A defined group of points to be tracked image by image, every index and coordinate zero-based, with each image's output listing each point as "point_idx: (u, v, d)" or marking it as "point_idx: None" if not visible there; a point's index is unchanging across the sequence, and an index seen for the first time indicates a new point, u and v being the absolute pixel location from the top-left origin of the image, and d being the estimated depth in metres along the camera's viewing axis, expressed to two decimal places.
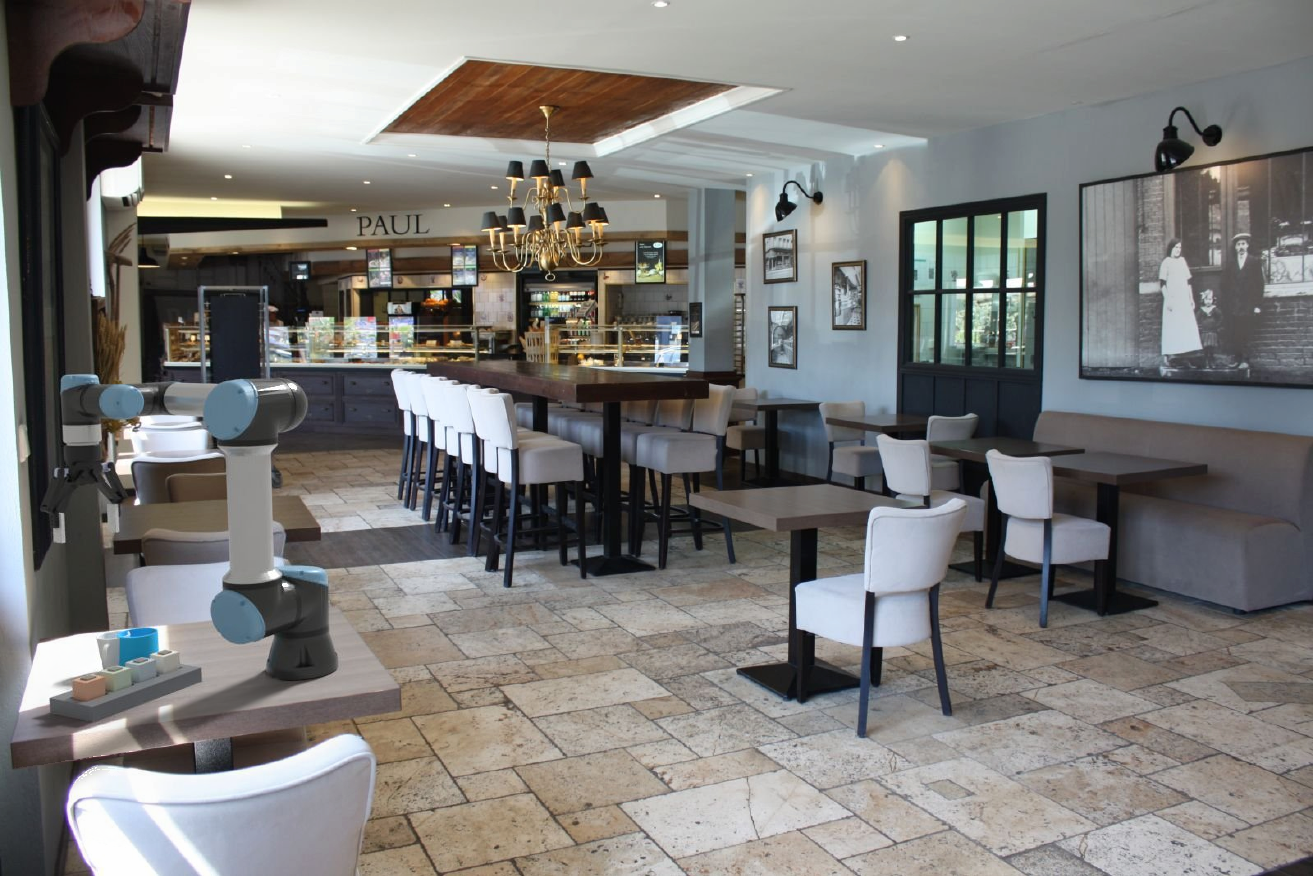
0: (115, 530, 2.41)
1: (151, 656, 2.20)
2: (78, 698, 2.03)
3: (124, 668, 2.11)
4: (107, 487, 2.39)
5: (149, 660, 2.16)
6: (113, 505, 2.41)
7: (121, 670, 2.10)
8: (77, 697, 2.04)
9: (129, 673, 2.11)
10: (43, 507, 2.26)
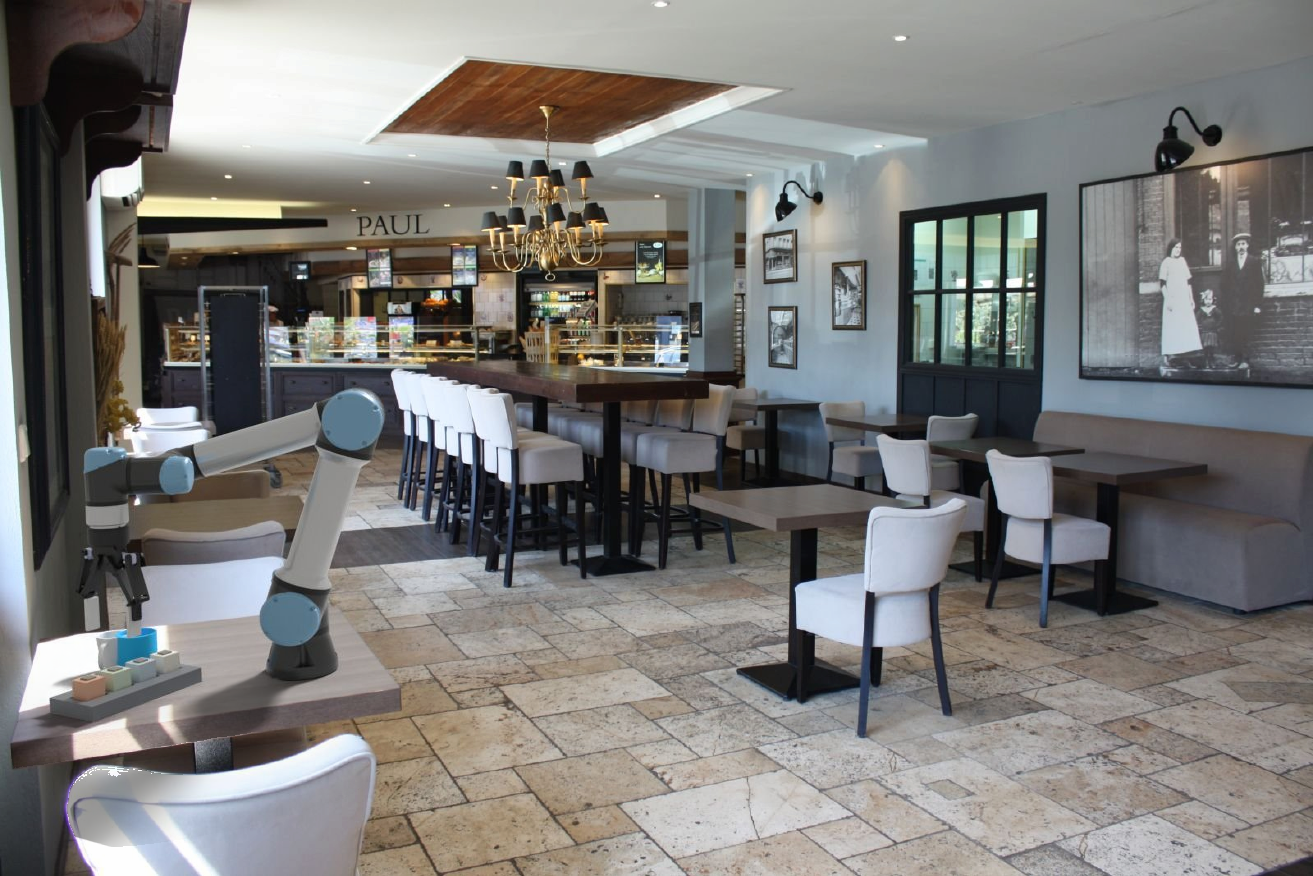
0: None
1: (151, 656, 2.20)
2: (78, 698, 2.03)
3: (124, 668, 2.11)
4: (120, 582, 2.06)
5: (149, 660, 2.16)
6: None
7: (121, 670, 2.10)
8: (77, 697, 2.04)
9: (129, 673, 2.11)
10: None
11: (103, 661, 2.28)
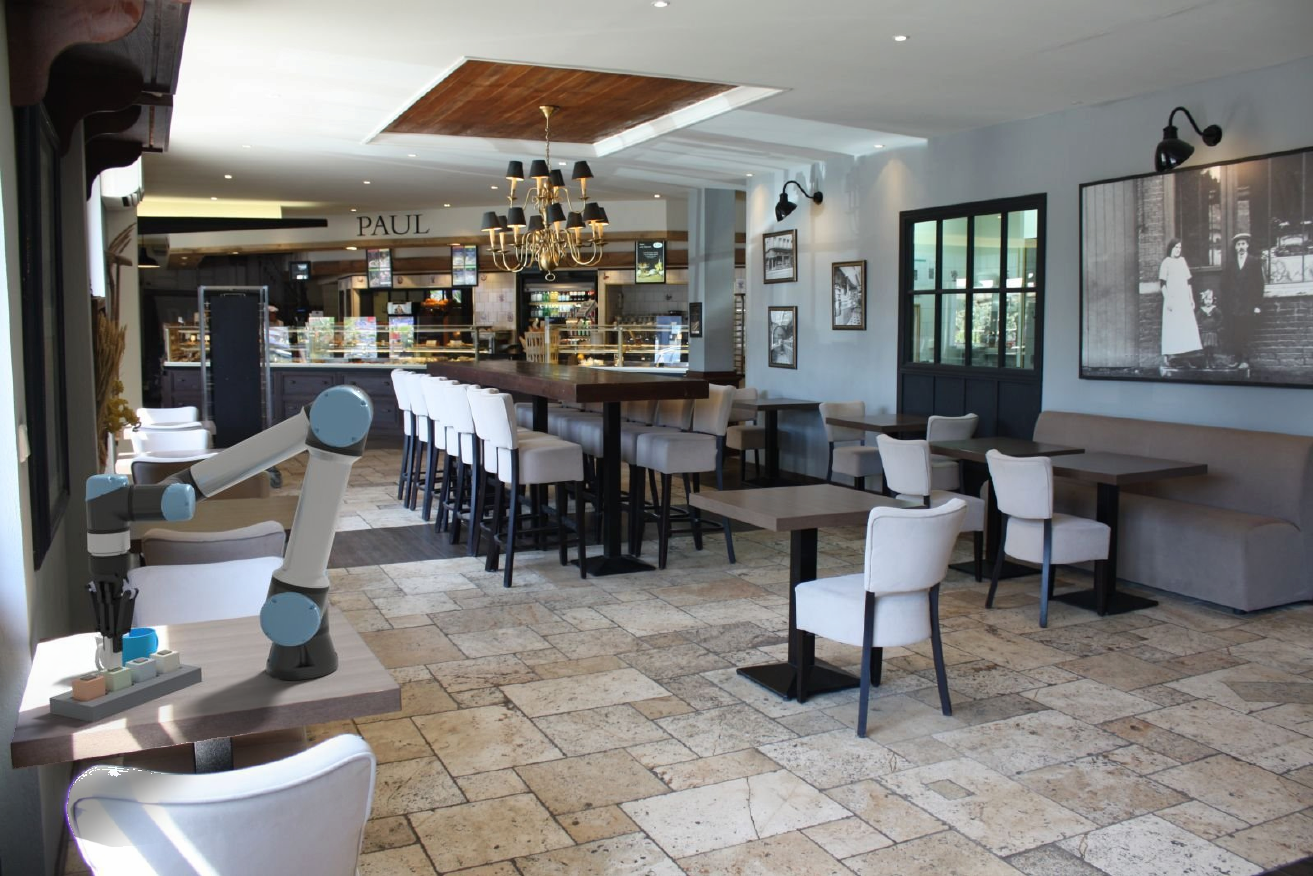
0: None
1: (151, 656, 2.20)
2: (78, 698, 2.03)
3: (124, 668, 2.11)
4: (111, 612, 2.07)
5: (149, 660, 2.16)
6: None
7: (121, 670, 2.10)
8: (77, 697, 2.04)
9: (129, 673, 2.11)
10: None
11: (102, 660, 2.28)
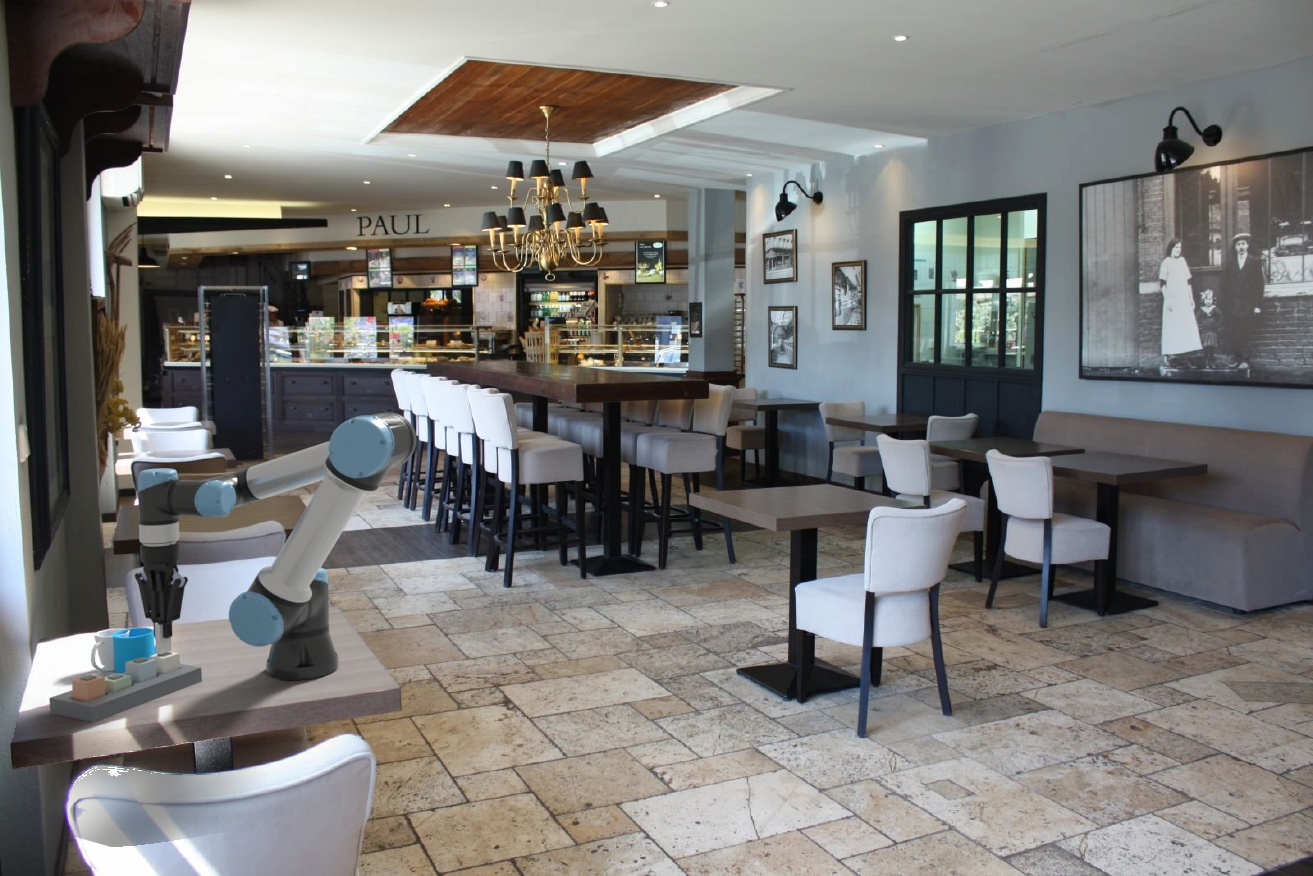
0: None
1: (151, 658, 2.20)
2: (78, 698, 2.03)
3: (124, 676, 2.11)
4: (161, 599, 2.18)
5: (149, 660, 2.16)
6: None
7: (121, 678, 2.10)
8: (77, 697, 2.04)
9: (129, 681, 2.11)
10: None
11: (101, 659, 2.29)
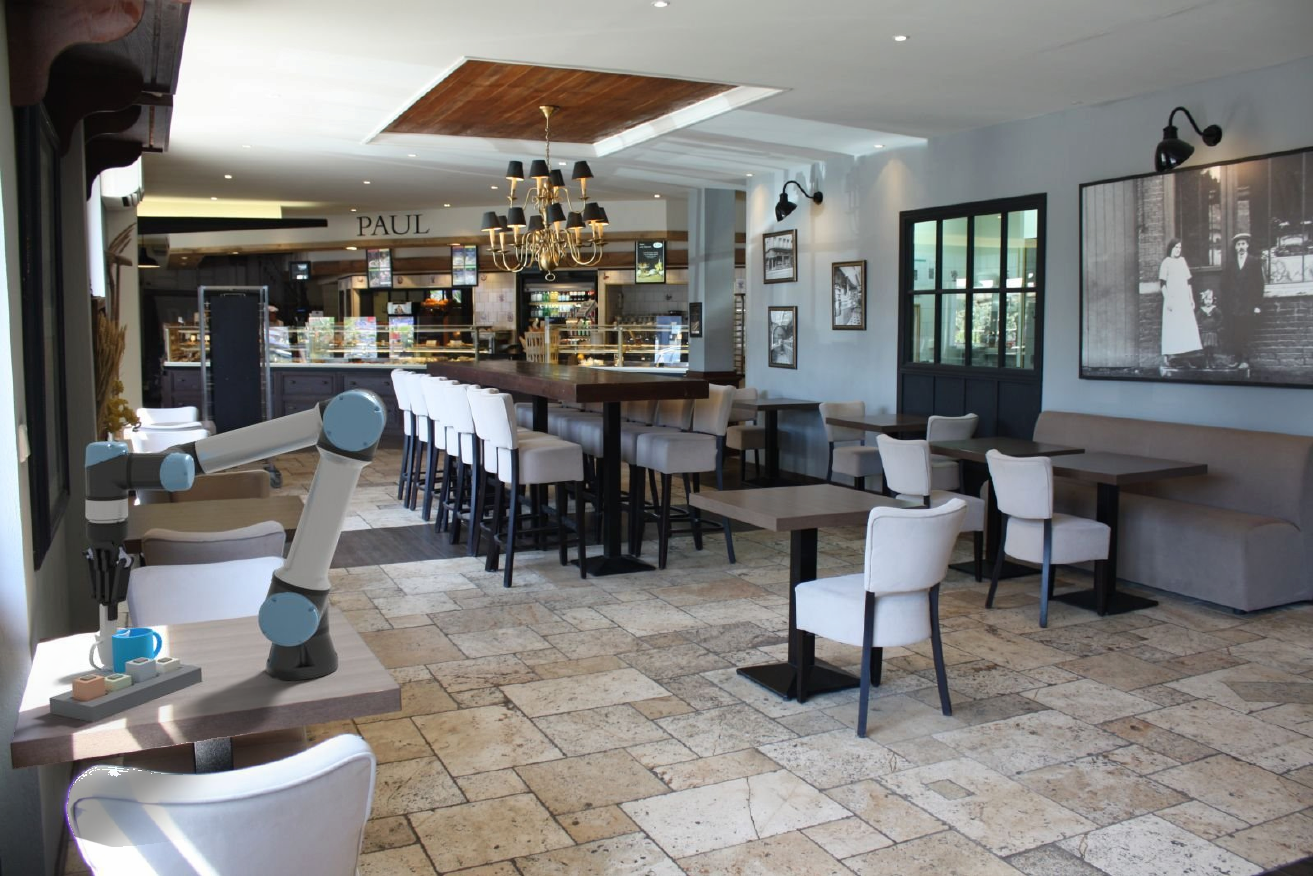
0: None
1: None
2: (78, 698, 2.03)
3: (124, 676, 2.11)
4: (106, 579, 2.07)
5: (149, 660, 2.16)
6: None
7: (121, 678, 2.10)
8: (77, 697, 2.04)
9: (129, 681, 2.11)
10: None
11: (101, 658, 2.30)
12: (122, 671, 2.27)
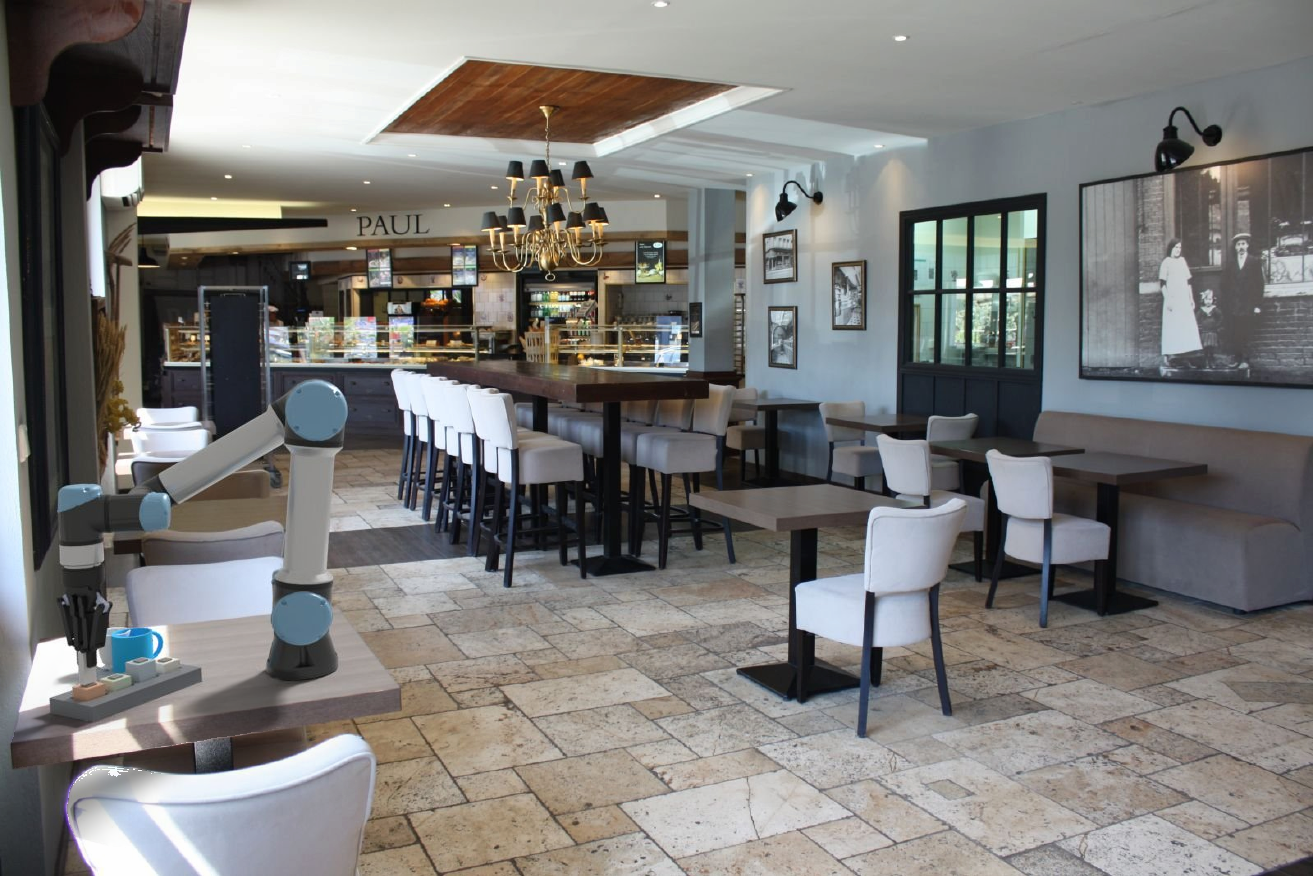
0: None
1: None
2: None
3: (124, 676, 2.11)
4: (84, 626, 2.02)
5: (149, 660, 2.16)
6: None
7: (121, 678, 2.10)
8: None
9: (129, 681, 2.11)
10: None
11: (101, 657, 2.30)
12: (120, 671, 2.27)
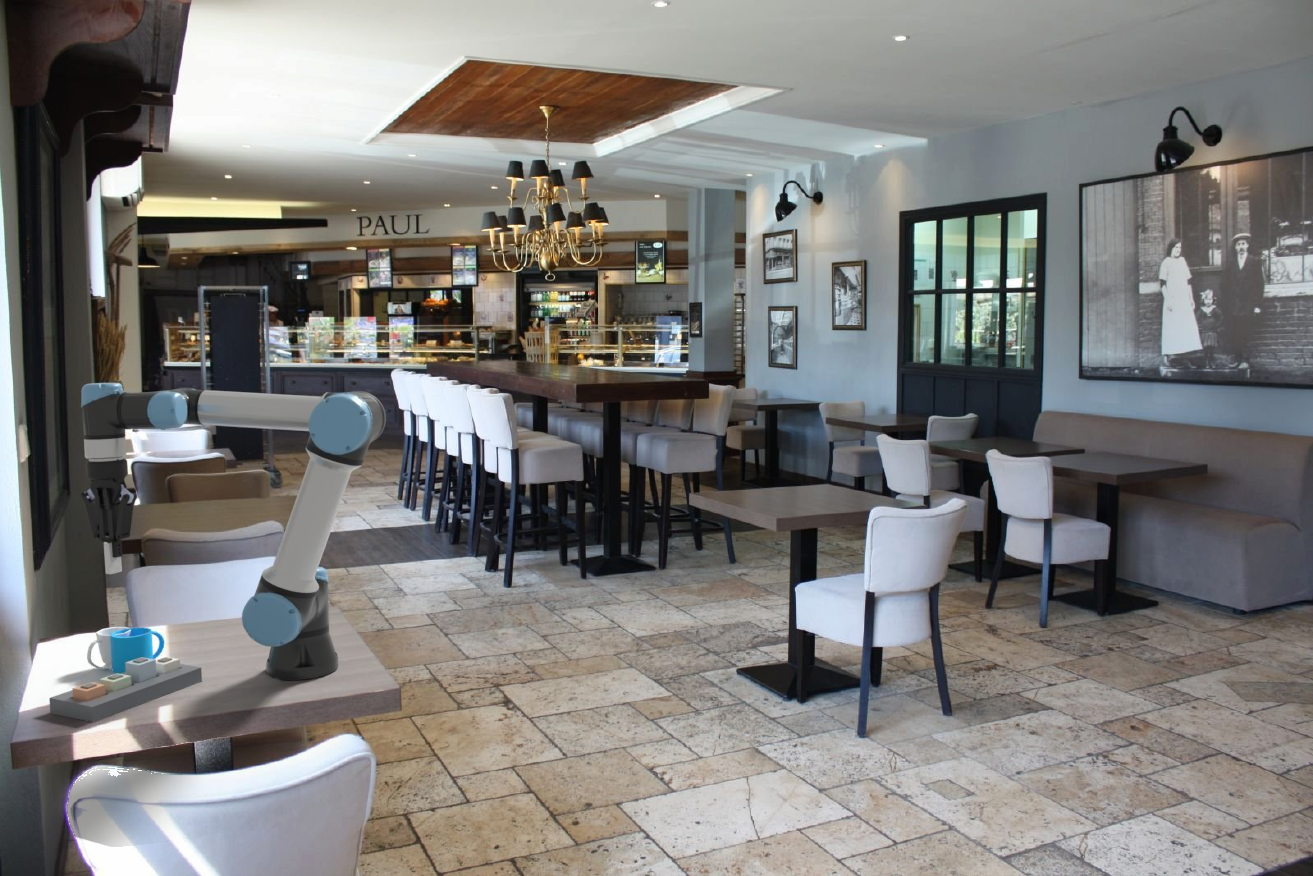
0: None
1: None
2: None
3: (124, 676, 2.11)
4: (109, 517, 2.12)
5: (149, 660, 2.16)
6: None
7: (121, 678, 2.10)
8: None
9: (129, 681, 2.11)
10: None
11: (102, 656, 2.31)
12: (118, 671, 2.27)
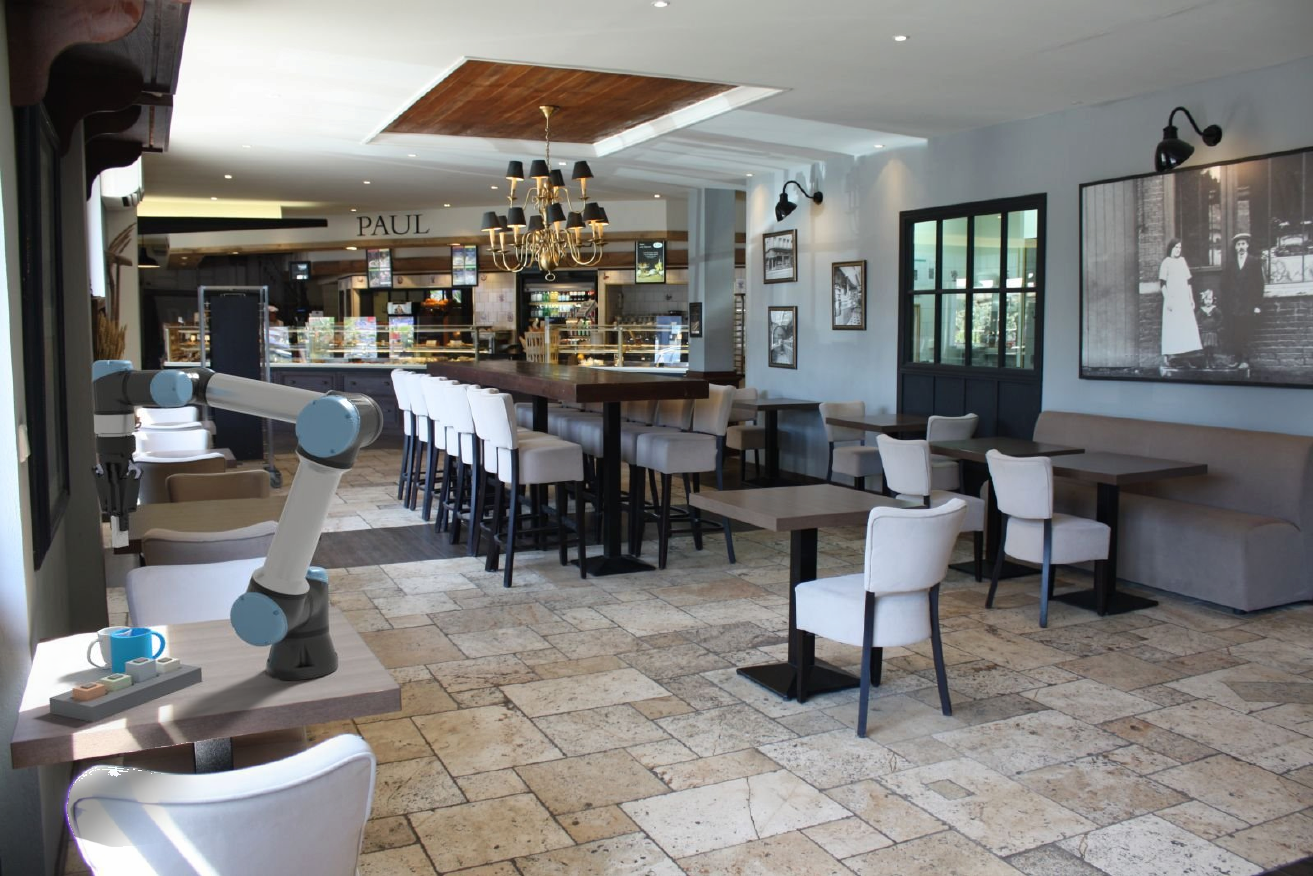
0: None
1: None
2: None
3: (124, 676, 2.11)
4: (117, 491, 2.17)
5: (149, 660, 2.16)
6: None
7: (121, 678, 2.10)
8: None
9: (129, 681, 2.11)
10: None
11: (102, 656, 2.31)
12: (117, 671, 2.27)
